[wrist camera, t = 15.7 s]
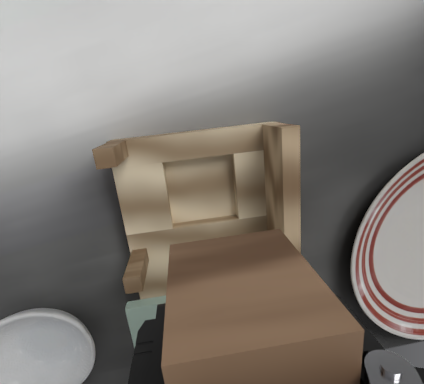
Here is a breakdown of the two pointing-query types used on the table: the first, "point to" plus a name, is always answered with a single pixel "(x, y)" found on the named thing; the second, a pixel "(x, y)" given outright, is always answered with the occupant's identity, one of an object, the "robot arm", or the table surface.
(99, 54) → the table surface
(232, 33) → the table surface
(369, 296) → the dinner plate
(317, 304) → the walnut block
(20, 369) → the spoon rest
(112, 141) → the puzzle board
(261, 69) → the table surface
